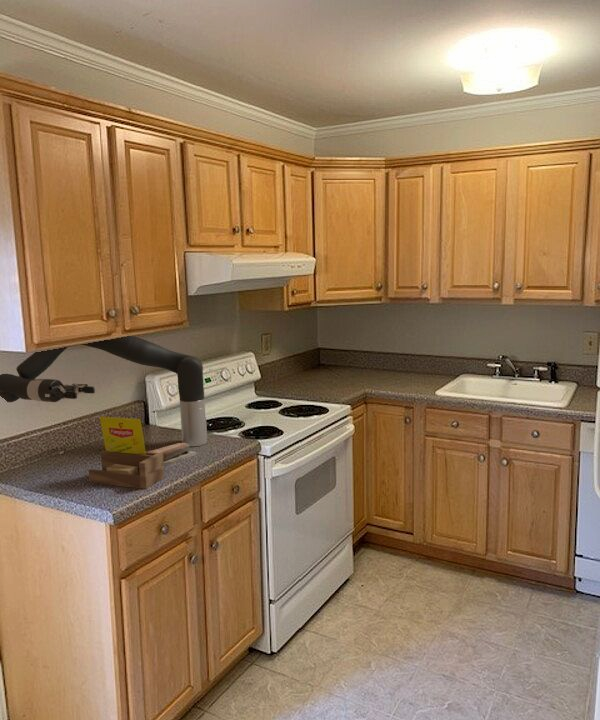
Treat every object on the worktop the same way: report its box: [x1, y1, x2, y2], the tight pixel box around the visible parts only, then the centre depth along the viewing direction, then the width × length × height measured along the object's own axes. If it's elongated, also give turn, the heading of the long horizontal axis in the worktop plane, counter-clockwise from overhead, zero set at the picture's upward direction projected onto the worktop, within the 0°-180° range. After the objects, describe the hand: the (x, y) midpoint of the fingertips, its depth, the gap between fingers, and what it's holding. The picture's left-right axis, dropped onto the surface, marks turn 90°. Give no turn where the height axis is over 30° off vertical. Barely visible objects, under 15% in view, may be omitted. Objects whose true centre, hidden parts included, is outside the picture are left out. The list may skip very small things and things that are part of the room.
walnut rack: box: [88, 450, 165, 490], centre depth 187 cm, size 10×21×8 cm, turn 71°
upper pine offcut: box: [107, 464, 138, 474], centre depth 187 cm, size 4×9×2 cm, turn 65°
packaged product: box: [148, 442, 197, 467], centre depth 207 cm, size 18×5×10 cm
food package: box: [99, 416, 147, 455], centre depth 189 cm, size 15×1×20 cm, turn 70°
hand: (85, 392), depth 192 cm, fingers open, 8 cm apart
